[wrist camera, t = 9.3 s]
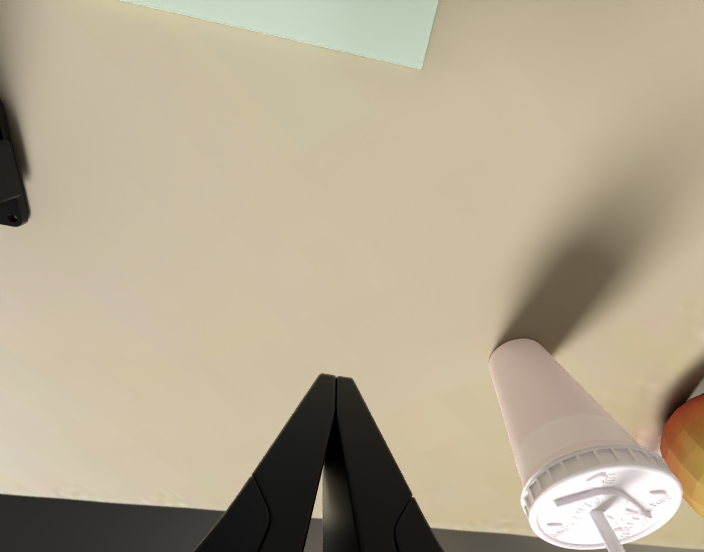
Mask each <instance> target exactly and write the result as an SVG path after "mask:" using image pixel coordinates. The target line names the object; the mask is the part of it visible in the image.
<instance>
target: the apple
mask: <svg viewBox="0 0 704 552" xmlns="http://www.w3.org/2000/svg"><path fill="white" fill-rule="evenodd" d="M660 450H661V454H662V458H663V459H664V460H665V462H666V464H667V466H668V467H669V469H670V470H671V472H672V473H673V474H674V475H675V476H676V478H677V479H678V480H679V482H680V483H681V486H682V489H683V498H684V499H685V500H686V501H687V503H688V504H689V505H690V506H691V507H692V508H693V509H694V510H695V511H696V512H697V513H698V514H699V515H701V516H702V517H704V393H703V394H701V395H699V396H696V397H694V398H691V399H690V400H688V401H687V402H686V403H684V404H683V405H682V406H680V407H679V408H677V409H676V410H675V412H674V413H673V414H672V416H671V417H670V418H669V419H668V421H667V422H666V424H665V425H664V429H663V434H662V438H661V445H660Z"/></svg>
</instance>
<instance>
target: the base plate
mask: <svg viewBox="0 0 704 552" xmlns="http://www.w3.org/2000/svg"><path fill="white" fill-rule="evenodd" d="M120 1H125V2H129V3H133V4H138V5H142V6H146V7H151V8H155V9H159V10H164V11H168V12H172V13H177V14H181V15H185V16H190V17H194V18H198V19H203V20H207V21H211V22H216V23H220V24H224V25H229V26H233V27H237V28H242V29H246V30H250V31H255V32H259V33H263V34H268V35H272V36H276V37H281V38H285V39H289V40H294V41H298V42H302V43H307V44H311V45H315V46H320V47H324V48H328V49H333V50H337V51H341V52H346V53H350V54H354V55H359V56H363V57H367V58H372V59H376V60H380V61H385V62H389V63H393V64H398V65H402V66H406V67H411V68H415V69H419V70H421V69H422V65H423V61H424V57H425V53H426V49H427V45H428V41H429V37H430V33H431V29H432V25H433V21H434V17H435V13H436V9H437V5H438V1H439V0H120Z"/></svg>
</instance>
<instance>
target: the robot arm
mask: <svg viewBox="0 0 704 552" xmlns="http://www.w3.org/2000/svg"><path fill="white" fill-rule="evenodd" d="M13 214H14V215H15V216H16V217H17V219H16V218H15V217H14V215H13ZM27 221H28V214H27V210H26V205H25V201H24V197H23V192H22V188H21V183H20V179H19V174H18V170H17V165H16V161H15V156H14V152H13V148H12V143H11V139H10V134H9V130H8V125H7V121H6V116H5V112H4V107H3V105H2V102H1V101H0V224H2V225H8V226H13V227H18V226H21V225H23V224H25V223H27ZM322 469H323V552H444V550H443V549H442V547H441V545H440V544H439V542H438V541H437V539H436V537H435V535H434V534H433V532H432V530H431V528H430V526H429V524H428V523H427V521H426V519H425V517H424V515H423V513H422V512H421V510H420V508H419V506H418V504H417V502H416V500H415V498H414V497H412V492H411V490H410V488H409V487H408V485H407V483H406V481H405V479H404V477H403V475H402V473H401V471H400V469H399V467H398V465H397V463H396V461H395V459H394V457H393V456H392V454H391V452H390V450H389V448H388V446H387V444H386V442H385V440H384V438H383V436H382V434H381V432H380V430H379V428H378V427H377V425H376V423H375V421H374V419H373V417H372V415H371V413H370V411H369V409H368V407H367V405H366V403H365V401H364V399H363V398H362V396H361V394H360V392H359V390H358V388H357V386H356V384H355V382H354V380H353V379H352V378H349V377H343V376H338V377H335V376H334V375H330V374H323V373H321V374H320V375H319V376H318V377H317V379H316V380H315V382H314V383H313V385H312V386H311V388H310V389H309V391H308V392H307V394H306V395H305V396H304V398H303V399H302V401H301V402H300V404H299V405H298V407H297V408H296V410H295V411H294V413H293V414H292V416H291V417H290V419H289V420H288V422H287V423H286V425H285V426H284V428H283V429H282V431H281V432H280V433H279V435H278V436H277V438H276V439H275V441H274V442H273V444H272V445H271V447H270V448H269V450H268V451H267V453H266V454H265V456H264V457H263V459H262V460H261V462H260V463H259V465H258V466H257V468H256V469H255V471H254V472H253V474H252V476H251V477H250V478H249V479H248V481H247V482H246V483H245V485H244V486H243V488H242V489H241V491H240V492H239V494H238V495H237V496H236V498H235V499H234V501H233V502H232V503H231V505H230V506H229V508H228V509H227V510H226V512H225V513H224V514H223V516H222V517H221V518H220V519H219V520H218V522H217V523H216V524H215V525H214V527H213V528H212V529H211V530H210V532H209V533H208V534H207V535H206V537H205V538H204V539H203V540H202V541H201V543H200V544H199V545H198V546H197V547H196V548H195V550H194V551H193V552H303V551H304V547H305V542H306V538H307V534H308V529H309V525H310V520H311V516H312V512H313V508H314V504H315V499H316V495H317V491H318V486H319V482H320V478H321V473H322Z"/></svg>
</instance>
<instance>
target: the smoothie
mask: <svg viewBox="0 0 704 552" xmlns="http://www.w3.org/2000/svg"><path fill="white" fill-rule="evenodd" d="M489 369H490V373H491V376H492V380H493V383H494V387H495V391H496V394H497V398H498V401H499V405H500V408H501V412H502V415H503V419H504V422H505V426H506V429H507V433H508V436H509V440H510V443H511V447H512V450H513V454H514V457H515V461H516V465H517V468H518V472H519V475H520V478H521V482H522V485H523V489H522V493H521V501H520V502H521V505H522V507H523V510H524V512H525V513H526V515H527V517H528V520H529V522H530V525H531V527H532V529H533V531H534V532H535V533H536V534H537V535H538V536H539V537H540V538H542V539H543V540H545V541H547V542H549V543H551V544H554V545H557V546H560V547H565V548H570V549H600V548H607V549H608V551H609V552H626V551H625V550H624V548H623V546H622V544H625V543H628V542H631V541H634V540H637V539H639V538H641V537H644V536H646V535H648V534H650V533H651V532H653V531H655V530H657V529H658V528H660V527H661V526H662V525H664V524H665V523H666V522H667V521H668V520H669V519H670V518H671V517H672V516H673V515H674V514H675V513H676V511H677V510H678V508H679V507H680V504H681V501H682V497H683V489H682V486H681V483H680V482H679V480H678V479H677V478H676V476H675V475H674V474H673V473H672V472H671V470H670V469H669V467H668V466H667V464H666V462H665V460H664V459H663V458H662V457H661V456H659V455H658V454H656V453H655V452H654V451H652V450H650V449H647V448H644V447H641V446H640V445H639V444H638V443H637V442H636V441H635V440H634V439H633V438H632V437H631V436H630V435H629V434H628V433H627V432H626V431H625V430H624V429H623V428H622V426H621V425H619V424H618V423H617V422H616V421H615V420H614V419H613V418H612V417H611V416H610V415H609V414H608V413H607V412H606V411H605V410H604V409H603V408H602V407H601V406H600V405H599V404H598V402H597V401H596V400H595V399H594V398H593V397H592V396H591V395H590V394H589V393H588V392H587V391H586V390H585V389H584V388H583V387H582V386H581V385H580V384H579V383H578V382H577V381H576V380H575V379H574V378H573V377H572V376H571V375H570V374H569V373H568V372H567V371H566V370H565V369H564V368H563V367H562V366H561V365H560V364H559V363H558V362H557V361H556V360H555V359H554V358H553V357H552V356H551V355H550V354H549V353H548V352H547V351H546V350H545V349H544V348H543V347H542V346H541V345H540V344H539V343H538V342H536V341H534V340H531V339H514V340H511V341H508V342H506V343H504V344H502V345H500V346H499V347H498V348H497V349H496V350H495V351H494V352H493V353H492V355H491V357H490V359H489Z"/></svg>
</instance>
